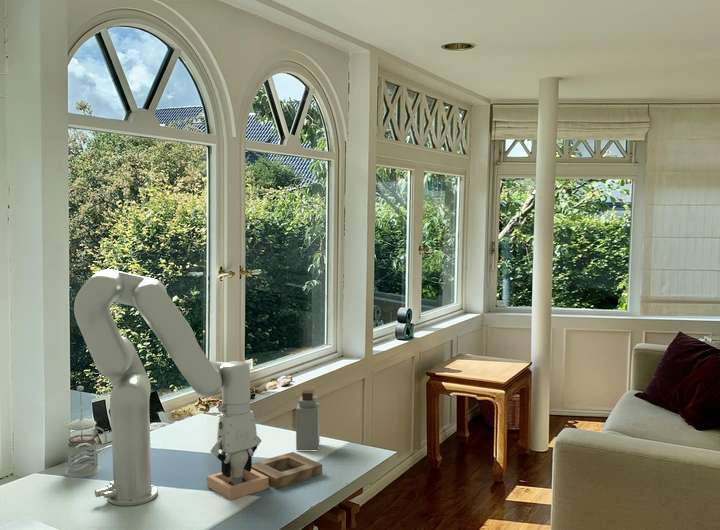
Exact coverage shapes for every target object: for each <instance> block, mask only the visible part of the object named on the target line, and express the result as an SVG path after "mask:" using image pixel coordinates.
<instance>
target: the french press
mask: <svg viewBox="0 0 720 530" xmlns="http://www.w3.org/2000/svg"><path fill="white" fill-rule="evenodd" d="M76 391H78V392H79V396H80V401H79V403H80V404H82V391H84V386H82V385H79V386H77V388H76ZM82 415H83V414H82V410H80V418H77V419H74V420H72V421H70V422H68V423H67V424H66V429H68V430H71V431H81V433H80V434H76V435H73V436H72V437H69V438H68V442H69V443H68V444H67V458H68V459H67V460H68V461H67V463H68V465H67V466H68V468H67V470H65V472H64V474H65V476H67V477H70V478H85V477H89V476H93V475H95V474H98V473H99V472H101V470H100V469H102V468H101V467H100V466H99V464H98V461H99V460H98V458H99V456H98V454H99V453H100V452H102V451H103V450H104V449H105V448H106V446H107V442H108V435H107V433H106V432H105V430H104V429H103V428H102V427H99V426H98V425H97V421H95V420H93V419H90V418H82V417H83V416H82ZM93 428H94V432H95V433H97V432H98V430H100V431H102V432H103V433H104V443H103V445H102V446H101V447H100V448H99V449H97V441H96V440H95V439H96V436H95V435H94V434H90V433H89V434H83V431H85V430H89V429H93ZM81 444H82V445H81ZM89 444H90V445H89Z"/></svg>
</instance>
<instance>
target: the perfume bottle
mask: <svg viewBox="0 0 720 530" xmlns="http://www.w3.org/2000/svg"><path fill="white" fill-rule="evenodd" d="M301 395H302V396H299V398H298V403H297V405H296V408H295V437H296V438H295V442H296V443H295V447H296V449H295V450H318V451H319V449H318V447H319V448H320V445H319V443H321V440H320V438H321V437H320V434H321V433H320V430H321V429H320V402H317V400H318V399H317V398H318V396H314V390H313V389H311V390H309V389H307V390H302V392H301Z"/></svg>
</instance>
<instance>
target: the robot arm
mask: <svg viewBox="0 0 720 530" xmlns="http://www.w3.org/2000/svg"><path fill="white" fill-rule="evenodd" d="M113 303H117V304H120V305H121V304H122V305H127V306H132V307H135V309H136V310H137V312H138V313H139V315H140V316H141V317H142V318H143V320H144V321H145V322H146V324H147V325H148V326H149V328H150V329H151V330H152V332H153V333H154V335H155V336H156V338H157V339H158V340H159V342H160V343H161V345H162V346H163V348H164V349H165V351H166V353H167V354H168V356H169V357H170V358H171V360H172V361H173V363H174V365H175V366H176V367H177V369H178V370H179V372H180V373H181V375H182V376H183V377H184V379H185V380H186V382H187V383H188V384H189V385H190V387H191V388H192V389H193V391H194V392H195V393H196V394H198V395H199V396H202V397H206V398H207V397H212V396H215V395H216V394H217V393H219V391H220V390H221V406H219V407H217V410H218V413H220V414H219V418H218V425H217V438H216V439H217V441H216V443H215V444H214V445H213V447H212V448H211V450H210V453H211V454H212V455H213V456H215V457H216V458H217V460H219V461H221V472H222V474H223V475H224V476H226V477H230V476H231V464H230V463H229V458H230V455H231V453H235V452H239V451H243V450H247V452H248V460H247V462H246V464H245V466H244V469H245V470H247V471H249V472H250V471H251V466H252V463H253V461H252V457H253V456H254V454H255V452H256V451H257V449H258V447H259V446H260V443H262V439H261V438H260V437H259V436H258V435H257V426H256V425H257V423H256V419H255V415H254V411H253V410H251V369H250V368H251V367H250V365H249V363H248V362H245V361H241V360H240V361H239V360H235V361H234V360H233V361H228V362H224V361H223V362H221V361H216V360H215V361H213V360H209V358H208V356H207V355H206V354H205V353H204V351H203V349H202V348H201V346H200V344H199V343H198V339H197V338H196V336H195V333H194V331H193V329H192V327H191V325H190V323H189V322H188V321H187V319H186V317H185V316H184V315H183V314H182V313H181V311H180V309H178V307H177V306H176V304H175V303H174V301H173V299H172V298H171V297H170V295H169V294H168V291H167V288H166V286H165V284H164V283H163V282H161V281H160V280H158V279H155V278H152V277H147V276H142V275H137V274H134V273H133V274H132V273H130V272H129V273H127V272H124V271H120V270H119V271H118V270H115V269H102V270H99V271H98V272H96V273H95V274H93V275H92V276H90V278H88V279H87V280H86V281H85V282H84V283H83V285H82V286H81V287H80V289H79V291H77V294H76V296H75V299H74V304H73V312H74V313H73V314H74V318H75V320H76V321H75V322H76V324H77V326H78V328H79V330H80V333H81V335H82V337H83V340H84V342H85V344H86V345H85V346H87V349H88V351H89V353H90V355H91V357H92V360H93V363H94V365H95V367H96V369H97V371H98V372H99V373H100V374H101V375H103V376H104V377H106V378H108V380H109V382H110V384H111V387H112V390H111V392H110V397H109V411H110V412H109V413H110V422H111V441H112V442H111V445H112V446H111V447H112V449H111V450H112V477H113V478H112V480H110V481H109V485H106V487H103V488H102V487H101V488H98V489H95V490H94V496H95V498H99V497H103V498H104V499H107V501H108V502H109V503H110V504H113V505H116V506H122V507H124V506H125V507H126V506H137V505H142V504H145V503H147V502H151V501H152V500H153V499H154V500H155V498H156V497H157V496H158V494H159V493H158V492H159V491H158V488H157V486H155V485H153V484H152V452H151V451H152V449H151V426H150V425H151V423H150V422H151V421H150V396H151V390H152V389H151V387H152V385H151V381H150V379H149V376H148V374H147V371H146V369H145V367H144V365H143V363H142V360H141V359H140V356H139V354H138V351H137V350H136V348H135V345H134V344H133V343H132V341H131V340H130V339H128V338H127V337H125V336H123V335H122V334H121V332H120V331H119V328H118V326H117V324H116V321H115V319H114V318H113V316H112V313H111V306H112V305H113ZM219 450H220V451H221V452H219Z"/></svg>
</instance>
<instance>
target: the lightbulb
mask: <svg viewBox="0 0 720 530" xmlns="http://www.w3.org/2000/svg"><path fill="white" fill-rule="evenodd" d="M247 460H248V452H247V450H243V451H239V452H235V453H231V455H230V458H229V463H230V464H231V476H232V482H231V483H232V484H233V485H236V484H240V483H243V482H242V481H243V480H242V475H243V469H244V466H245V464H246V462H247Z"/></svg>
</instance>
